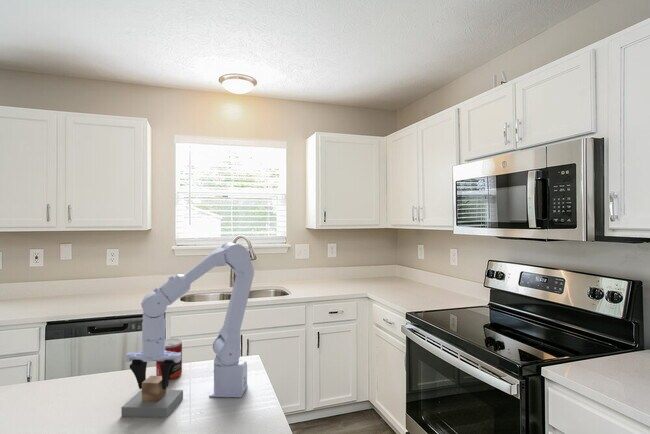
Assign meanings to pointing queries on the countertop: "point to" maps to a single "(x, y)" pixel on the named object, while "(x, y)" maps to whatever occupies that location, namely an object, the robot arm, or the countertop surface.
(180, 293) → the robot arm
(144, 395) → the light brown rectangular block
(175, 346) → the canned food
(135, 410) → the slate base
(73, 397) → the countertop surface
